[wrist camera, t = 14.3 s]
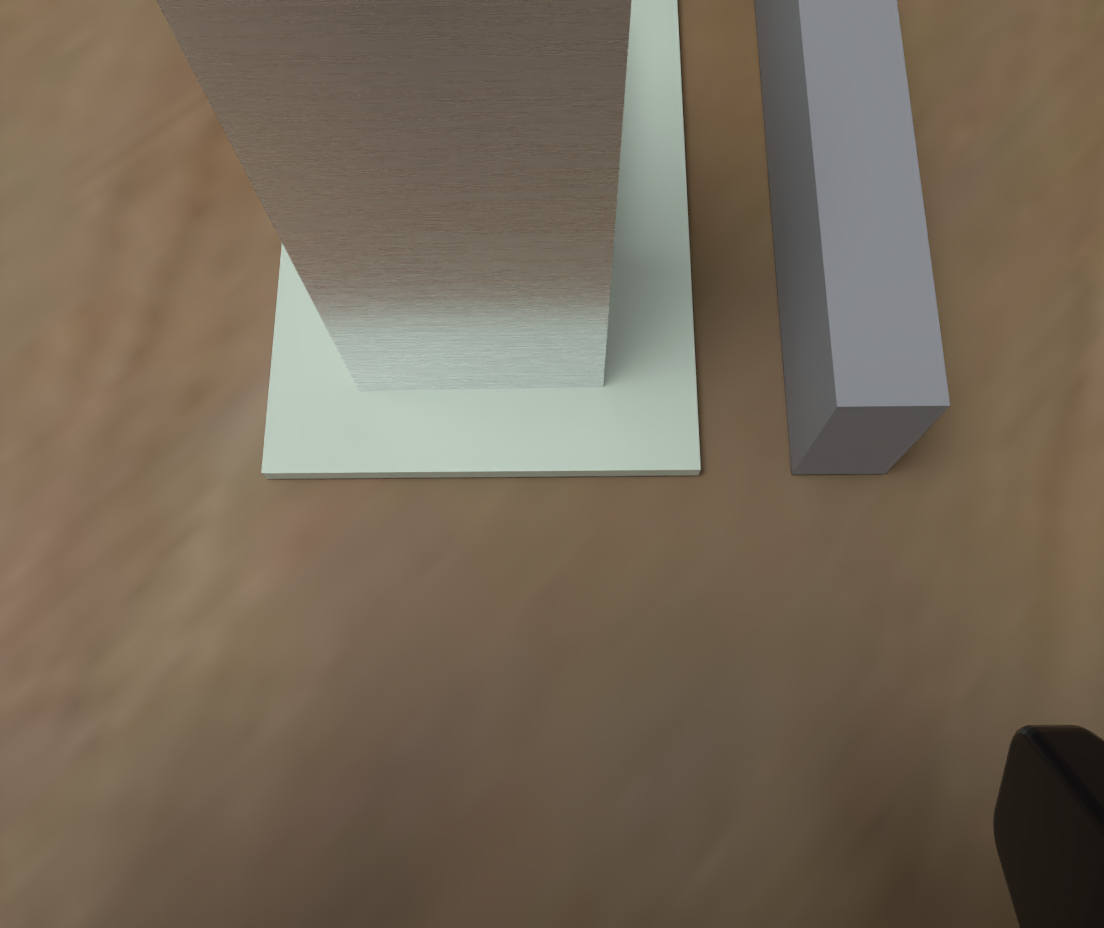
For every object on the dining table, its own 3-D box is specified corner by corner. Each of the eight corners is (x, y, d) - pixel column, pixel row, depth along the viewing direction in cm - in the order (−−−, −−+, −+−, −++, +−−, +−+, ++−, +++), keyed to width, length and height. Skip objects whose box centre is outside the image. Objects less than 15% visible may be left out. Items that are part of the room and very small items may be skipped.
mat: (698, 475, 17) (700, 469, 16) (267, 478, 17) (261, 473, 17) (674, -23, 20) (675, -35, 20) (309, -17, 20) (306, -28, 20)
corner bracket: (932, 473, 17) (1007, 405, 14) (129, 479, 17) (38, 414, 14) (856, -146, 21) (901, -298, 18) (209, -135, 21) (152, -282, 18)
